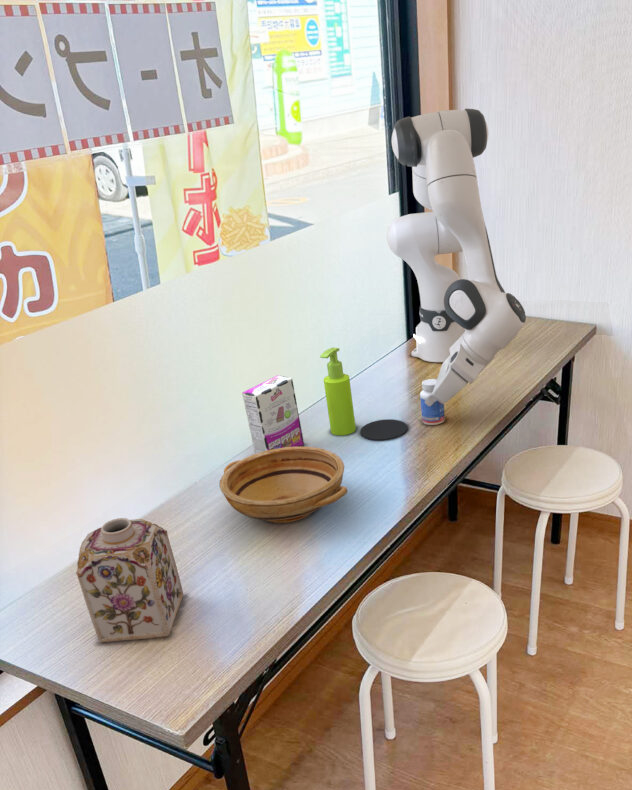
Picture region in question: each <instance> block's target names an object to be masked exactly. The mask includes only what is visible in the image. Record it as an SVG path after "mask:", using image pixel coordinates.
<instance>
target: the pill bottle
mask: <svg viewBox="0 0 632 790" xmlns="http://www.w3.org/2000/svg"><path fill="white" fill-rule="evenodd" d="M436 379H437V378H428V379H424V380H422V382H421V388H422V390H421V391H420V392H419V399H420V410H421V421H422V423H423V424H424V425H428V426H437V425H440V424H442V423H444V422H445V419H446V416H445V403H444V404H441V403H440V402H439V401H438V400H437V401H436V402H434V403H433V404H432V405H431V406H428V405H427V404H425V399H426V398H427V397H428V396H429V395H430V394H431V393H432V392H433V389H434V387H435V384H436V381H437V380H436Z"/></svg>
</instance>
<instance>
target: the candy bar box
mask: <svg viewBox="0 0 632 790" xmlns="http://www.w3.org/2000/svg"><path fill="white" fill-rule="evenodd" d="M241 394H242V398H243V399H242V400H243V404H244V408H245V412H246V416H247V422H248V427H249V431H250V432H249V433H250V436H251V441H252V445H253V450H254V454H257V453H260V452H264V451H268V450H272V449H278V448H284V447H303V446H304V445H305V442H304V436H303V431H302V424H301V419H300V414H299V409H298V403H297V397H296V391H295V385H294V381H293V378H292V377H288V376H284V375H275V376H273V377H272V378H269V379H267V380H265V381H263V382H261V383H259V384H257V385H255V386H252V387H251V388H249V389H247V390H245V391H243V392H241Z"/></svg>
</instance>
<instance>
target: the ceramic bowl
mask: <svg viewBox="0 0 632 790" xmlns="http://www.w3.org/2000/svg"><path fill="white" fill-rule="evenodd" d="M344 473H345V463H344V461H343V459H342V458H341V457H340V456H339V455H337V454H336V453H334V452H333V451H330V450H327V449H324V448H321V447H315V446H300V447H284V448H278V449H272V450H268V451H264V452H260V453H257V454H255V453H254V454H252V455H249V456H246V457H244V458H242V459H238V460H235V461H232V462H230V463H228V465H226V466H225V468H224V469H223V474H222V475H221V478H220V480H219V489H220V492H221V493H222V494H223V495H224V498H225V499H226V501H227V502H228V504H229V505H230V506H231V507H232V508H233V509H234V510H235V511H237V512H238V513H240V514H241V515H244V516H245V517H248V518H251V519H255V520H261V521H268V522H271V523H278V524H283V523H284V524H286V523H291V522H296V521H299V520H302V519H305V518H307V517H308V516H310V515H312V514H313V512H316V511H318V510H320V509H322V508H323V507H325V506H328V505H331V504H333V503H335V502H337V501H339V500H340V499H342V498H343V497H344V496H346V494H347V493H348V488H347V487H346V486H344V485H343V486H341V485H342V482H343V477H344Z"/></svg>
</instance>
